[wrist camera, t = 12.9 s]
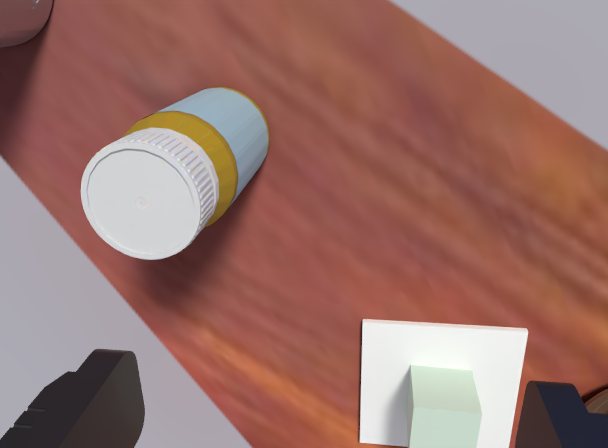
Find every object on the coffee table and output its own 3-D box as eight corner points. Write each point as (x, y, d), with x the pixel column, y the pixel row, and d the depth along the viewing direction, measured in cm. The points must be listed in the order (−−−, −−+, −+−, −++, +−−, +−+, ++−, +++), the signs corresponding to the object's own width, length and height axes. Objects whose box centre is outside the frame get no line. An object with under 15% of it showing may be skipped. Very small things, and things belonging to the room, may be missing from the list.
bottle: (277, 175, 40) (221, 265, 26) (190, 181, 41) (93, 270, 27) (264, 81, 37) (195, 126, 23) (171, 90, 38) (54, 138, 25)
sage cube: (405, 411, 46) (408, 456, 41) (410, 364, 44) (413, 406, 39) (464, 417, 45) (473, 463, 41) (472, 370, 43) (482, 413, 39)
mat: (359, 438, 49) (359, 442, 48) (362, 318, 44) (362, 322, 43) (506, 451, 47) (507, 455, 46) (526, 328, 42) (528, 331, 41)
